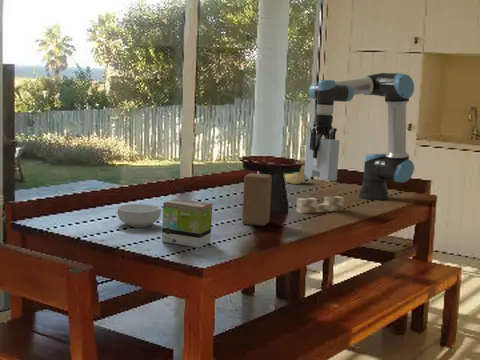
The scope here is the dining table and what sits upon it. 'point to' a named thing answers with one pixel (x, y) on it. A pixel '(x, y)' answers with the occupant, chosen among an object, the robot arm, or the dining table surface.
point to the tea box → (187, 222)
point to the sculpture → (295, 177)
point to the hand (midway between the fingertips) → (321, 165)
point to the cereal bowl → (139, 214)
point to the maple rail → (311, 204)
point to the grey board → (323, 160)
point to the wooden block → (256, 199)
